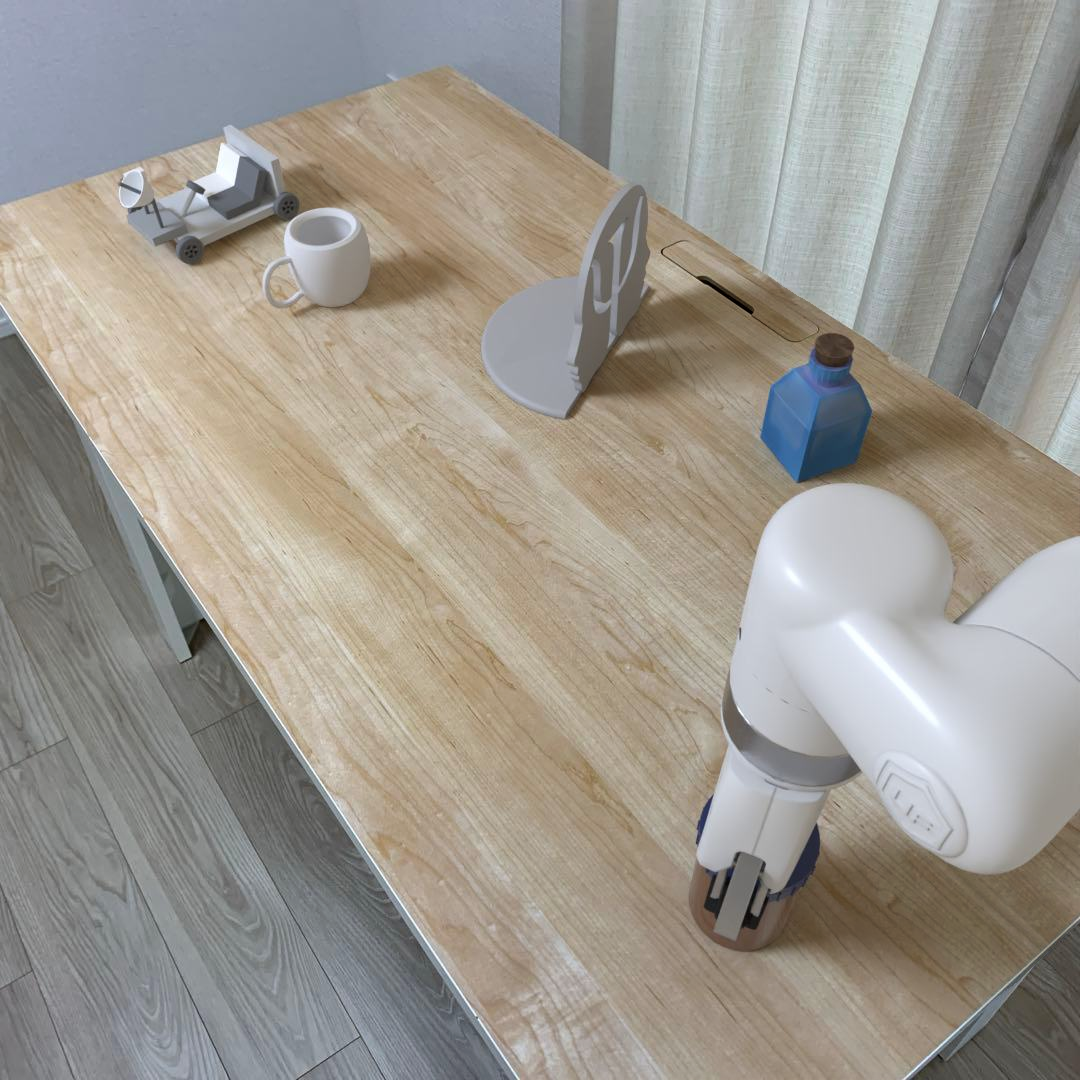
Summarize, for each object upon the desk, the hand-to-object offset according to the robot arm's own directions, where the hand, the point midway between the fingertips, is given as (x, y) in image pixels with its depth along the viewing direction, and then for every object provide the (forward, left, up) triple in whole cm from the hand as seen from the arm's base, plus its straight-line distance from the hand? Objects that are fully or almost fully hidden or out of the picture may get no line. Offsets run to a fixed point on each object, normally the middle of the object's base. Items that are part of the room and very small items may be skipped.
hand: (750, 857), depth 63 cm
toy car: (+93, -4, -7) cm, 93 cm away
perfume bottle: (+27, -33, -7) cm, 43 cm away
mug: (+73, -8, -7) cm, 74 cm away
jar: (0, 0, -7) cm, 7 cm away
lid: (0, 0, +3) cm, 3 cm away
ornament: (+54, -24, -7) cm, 59 cm away
